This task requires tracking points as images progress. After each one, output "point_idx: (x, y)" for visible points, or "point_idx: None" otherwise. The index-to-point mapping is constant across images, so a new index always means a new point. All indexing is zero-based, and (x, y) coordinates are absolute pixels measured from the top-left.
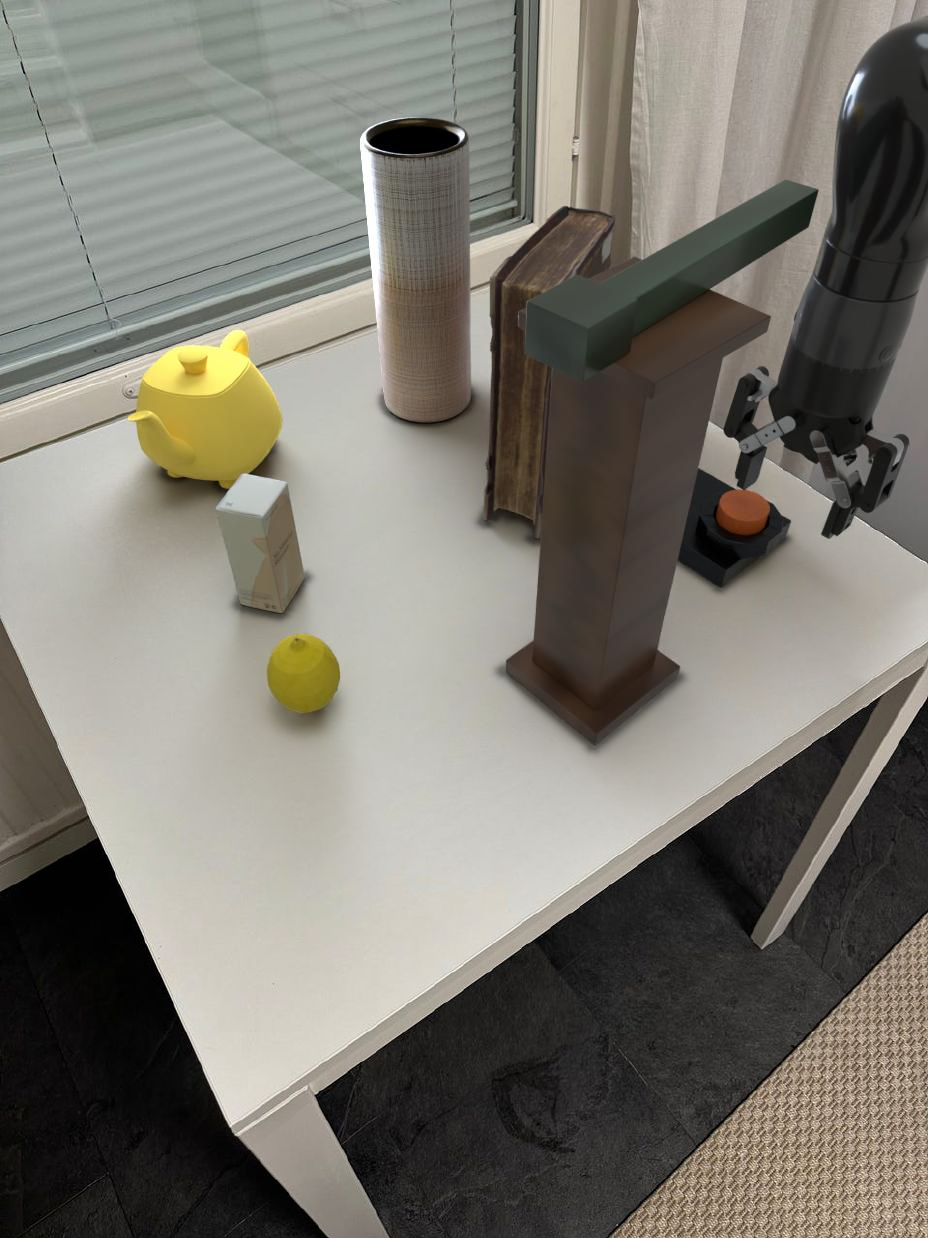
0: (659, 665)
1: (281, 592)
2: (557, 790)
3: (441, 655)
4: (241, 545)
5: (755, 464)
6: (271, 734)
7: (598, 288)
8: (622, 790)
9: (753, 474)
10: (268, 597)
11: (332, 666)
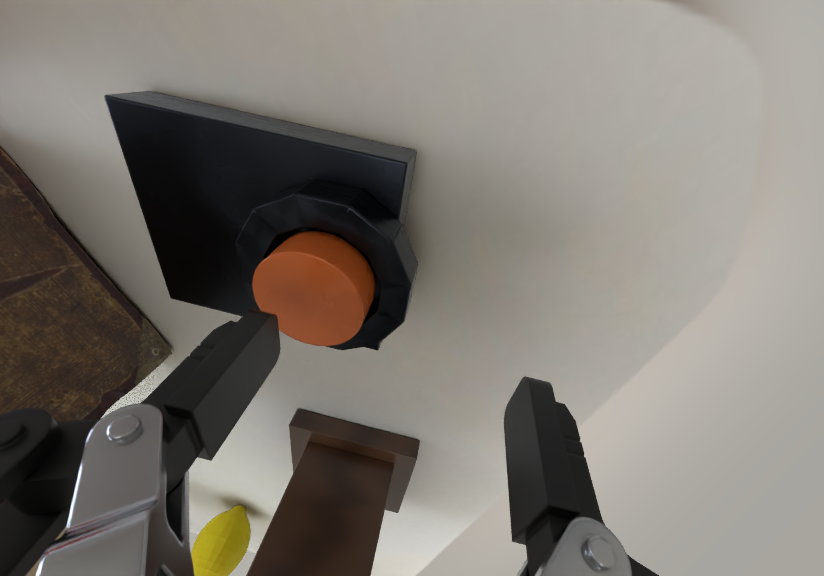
0: (399, 463)
1: None
2: (402, 518)
3: (256, 468)
4: None
5: (234, 399)
6: (248, 519)
7: None
8: (439, 512)
9: (257, 360)
10: None
11: (228, 559)
